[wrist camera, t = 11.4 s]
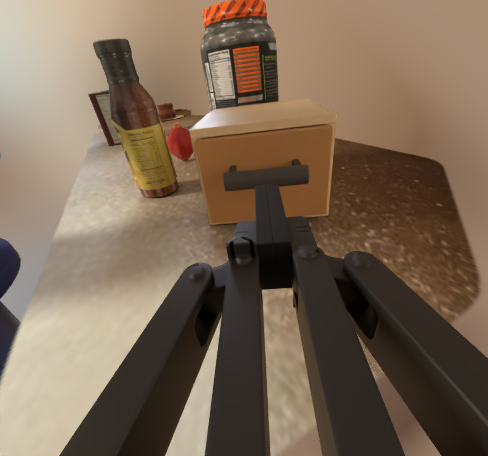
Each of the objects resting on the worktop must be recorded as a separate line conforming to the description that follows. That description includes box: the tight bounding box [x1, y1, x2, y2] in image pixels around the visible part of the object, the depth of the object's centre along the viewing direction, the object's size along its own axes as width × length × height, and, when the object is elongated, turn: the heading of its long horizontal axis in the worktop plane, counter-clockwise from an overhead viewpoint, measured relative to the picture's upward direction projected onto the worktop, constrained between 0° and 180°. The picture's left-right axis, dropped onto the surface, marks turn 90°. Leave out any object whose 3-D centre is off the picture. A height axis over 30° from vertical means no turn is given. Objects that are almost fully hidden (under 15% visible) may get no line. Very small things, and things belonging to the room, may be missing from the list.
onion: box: [167, 123, 194, 161], centre depth 52 cm, size 6×6×8 cm
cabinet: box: [189, 98, 337, 225], centre depth 32 cm, size 16×14×11 cm
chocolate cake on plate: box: [158, 103, 185, 121], centre depth 126 cm, size 18×18×7 cm
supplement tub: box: [201, 0, 278, 111], centre depth 53 cm, size 16×16×26 cm
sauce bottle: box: [93, 39, 178, 198], centre depth 34 cm, size 7×6×20 cm
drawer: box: [195, 125, 333, 223], centre depth 29 cm, size 19×13×9 cm, turn 178°
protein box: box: [88, 90, 121, 146], centre depth 83 cm, size 10×15×16 cm
